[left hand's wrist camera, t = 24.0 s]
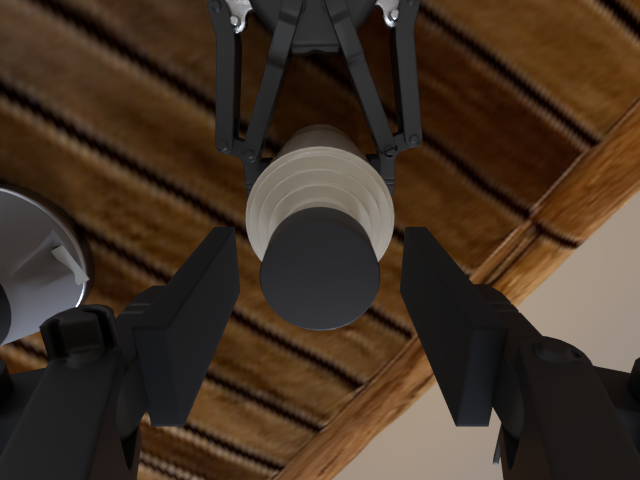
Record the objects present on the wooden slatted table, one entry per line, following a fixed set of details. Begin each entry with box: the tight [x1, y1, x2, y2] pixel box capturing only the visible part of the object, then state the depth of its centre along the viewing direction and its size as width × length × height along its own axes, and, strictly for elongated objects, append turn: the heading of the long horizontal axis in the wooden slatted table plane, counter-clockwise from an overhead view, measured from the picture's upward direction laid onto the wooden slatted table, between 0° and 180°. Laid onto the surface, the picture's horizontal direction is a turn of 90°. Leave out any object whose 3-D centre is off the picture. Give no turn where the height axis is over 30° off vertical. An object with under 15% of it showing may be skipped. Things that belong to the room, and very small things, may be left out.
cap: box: [260, 207, 380, 330], centre depth 14 cm, size 4×4×2 cm
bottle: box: [246, 124, 394, 261], centre depth 24 cm, size 7×7×22 cm
